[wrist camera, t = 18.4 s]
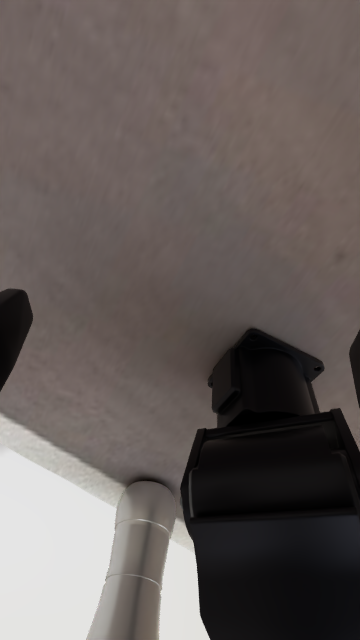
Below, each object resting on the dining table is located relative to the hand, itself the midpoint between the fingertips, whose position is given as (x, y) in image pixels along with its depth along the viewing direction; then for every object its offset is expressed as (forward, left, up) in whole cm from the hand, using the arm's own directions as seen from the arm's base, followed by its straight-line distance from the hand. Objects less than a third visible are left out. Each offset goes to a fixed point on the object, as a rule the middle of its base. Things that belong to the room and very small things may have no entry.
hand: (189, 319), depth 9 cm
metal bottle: (-10, +31, -12) cm, 35 cm away
